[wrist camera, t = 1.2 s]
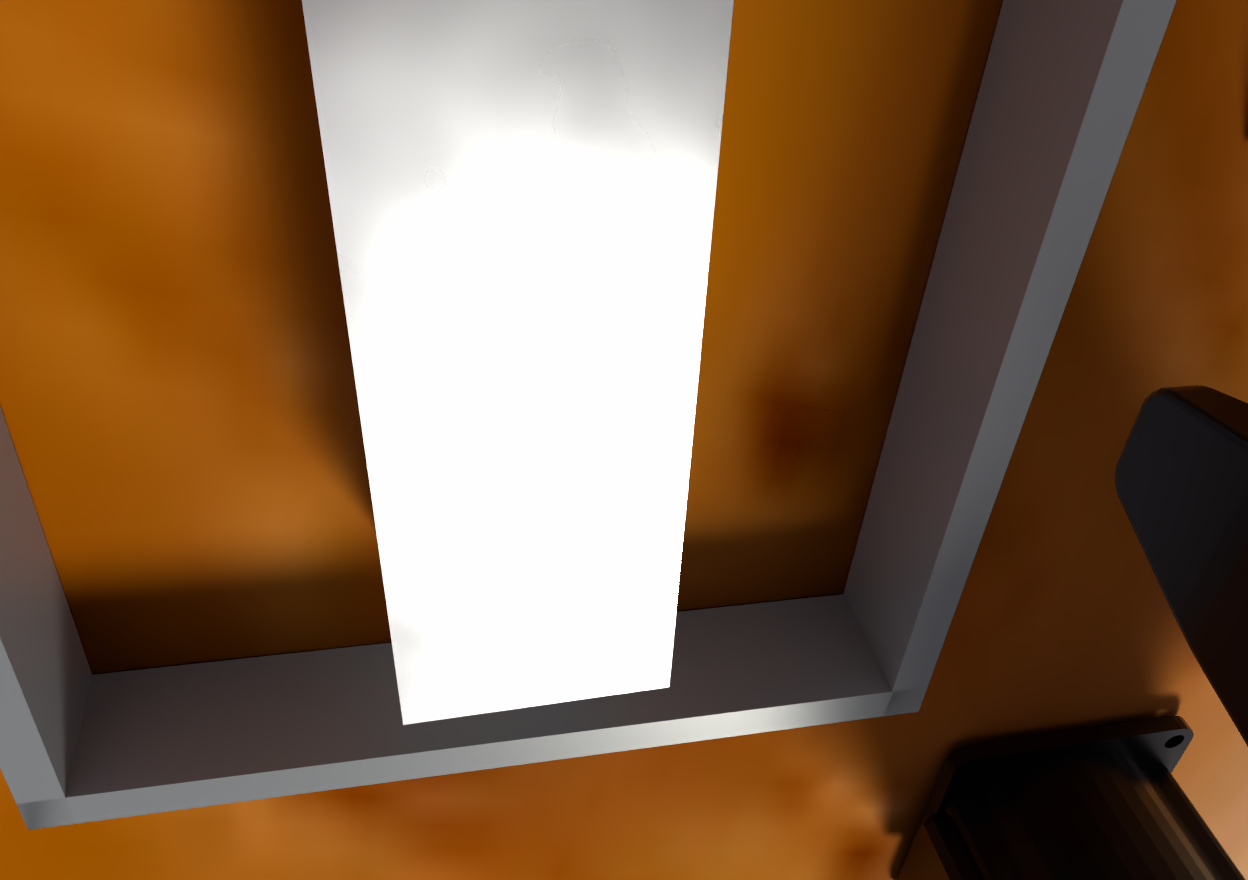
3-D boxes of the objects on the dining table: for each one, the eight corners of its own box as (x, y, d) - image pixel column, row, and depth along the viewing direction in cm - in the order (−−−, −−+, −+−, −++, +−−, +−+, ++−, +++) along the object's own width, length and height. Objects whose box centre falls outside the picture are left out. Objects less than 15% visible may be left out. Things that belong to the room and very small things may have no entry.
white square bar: (673, -799, 10) (824, -967, 7) (616, 514, 20) (669, 686, 17) (213, -851, 9) (152, -1067, 6) (391, 539, 19) (403, 725, 16)
